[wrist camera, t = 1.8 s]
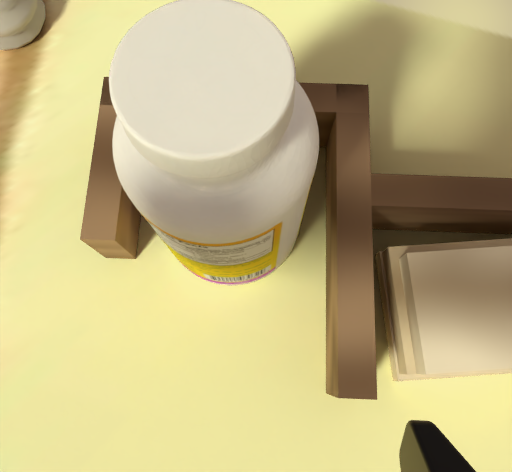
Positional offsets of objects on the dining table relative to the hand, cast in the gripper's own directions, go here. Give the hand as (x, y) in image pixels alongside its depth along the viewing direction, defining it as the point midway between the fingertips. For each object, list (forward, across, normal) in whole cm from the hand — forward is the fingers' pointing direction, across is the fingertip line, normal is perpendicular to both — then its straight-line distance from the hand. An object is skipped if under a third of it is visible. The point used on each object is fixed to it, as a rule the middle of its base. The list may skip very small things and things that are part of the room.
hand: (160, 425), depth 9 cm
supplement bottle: (+16, 0, +4) cm, 16 cm away
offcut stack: (+13, -11, +7) cm, 18 cm away
